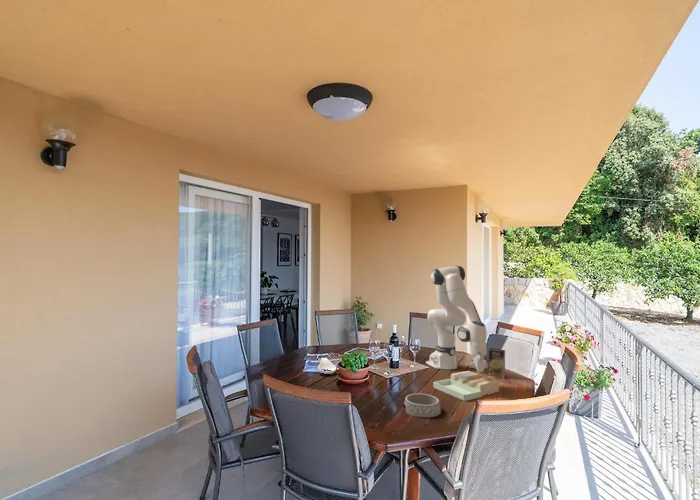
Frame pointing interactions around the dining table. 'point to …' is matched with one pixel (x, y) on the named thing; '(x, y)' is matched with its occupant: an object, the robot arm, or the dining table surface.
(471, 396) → the tray
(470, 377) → the slate tile
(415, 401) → the dog bowl
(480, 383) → the bench slab
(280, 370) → the dining table surface
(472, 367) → the flower in vase
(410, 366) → the dining table surface
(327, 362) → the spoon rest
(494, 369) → the coffee box
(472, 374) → the terracotta tile
